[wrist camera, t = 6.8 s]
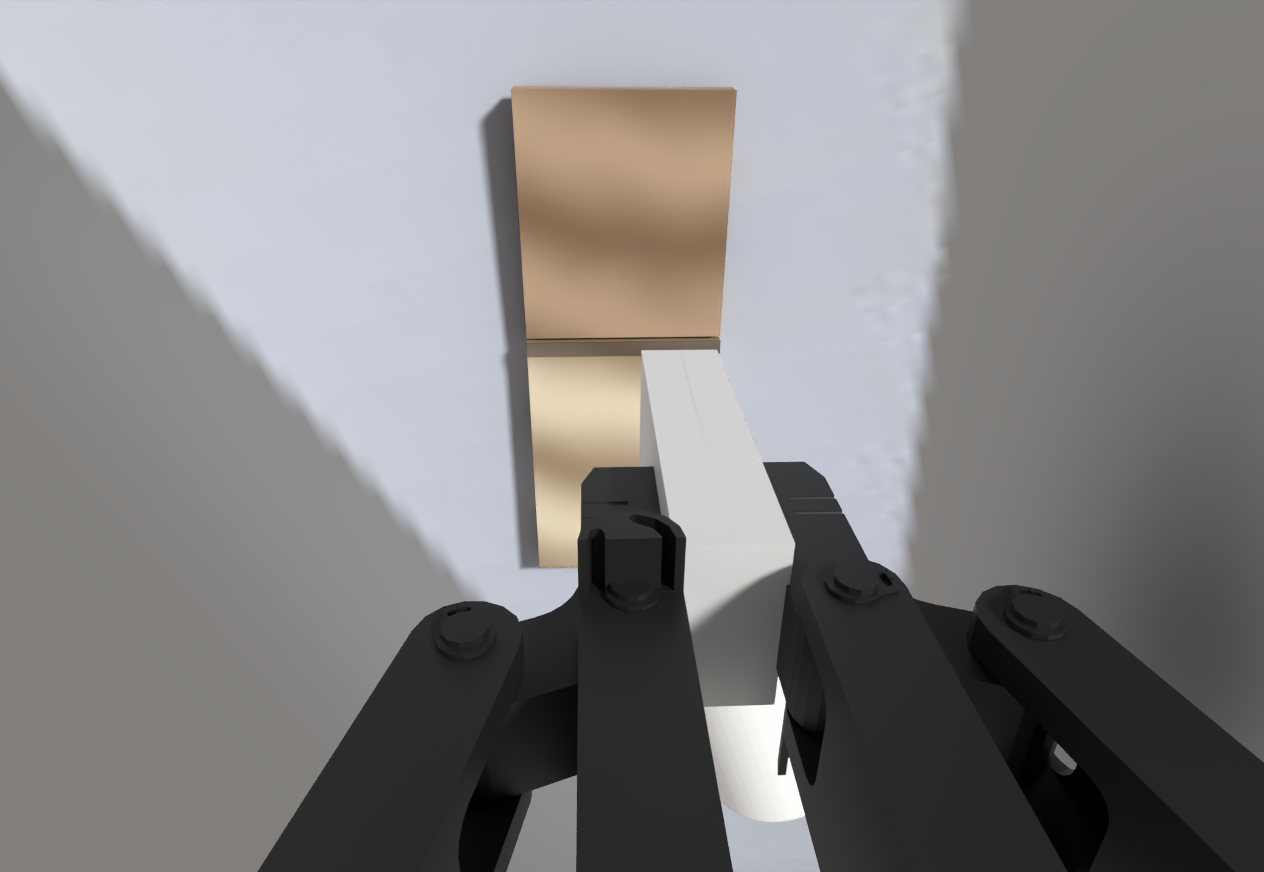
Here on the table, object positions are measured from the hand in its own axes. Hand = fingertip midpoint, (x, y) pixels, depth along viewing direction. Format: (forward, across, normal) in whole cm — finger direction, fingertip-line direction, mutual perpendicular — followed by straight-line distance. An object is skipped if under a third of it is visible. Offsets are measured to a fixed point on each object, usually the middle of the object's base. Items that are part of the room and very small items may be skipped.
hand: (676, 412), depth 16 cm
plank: (+19, 0, 0) cm, 19 cm away
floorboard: (+20, 0, -11) cm, 23 cm away
